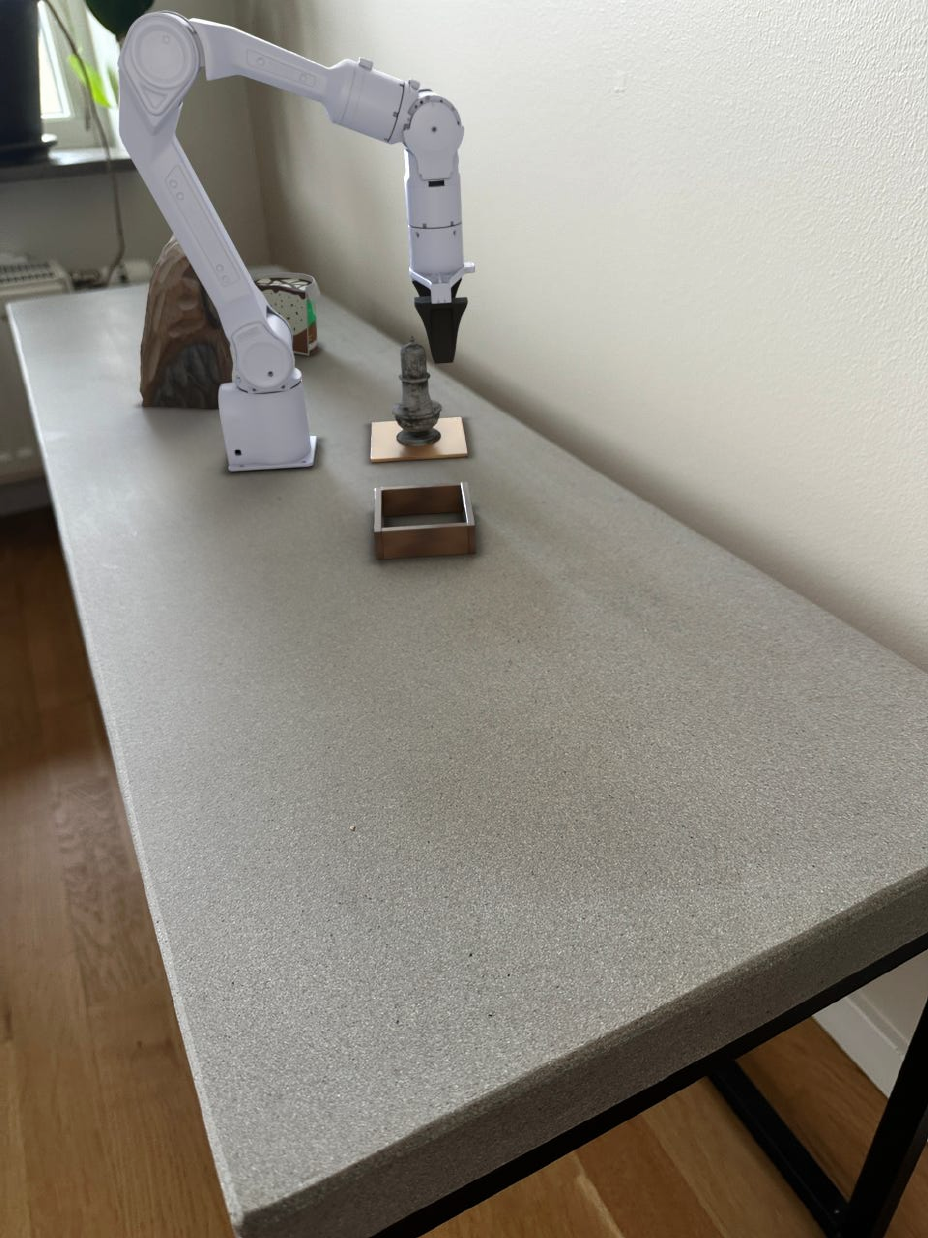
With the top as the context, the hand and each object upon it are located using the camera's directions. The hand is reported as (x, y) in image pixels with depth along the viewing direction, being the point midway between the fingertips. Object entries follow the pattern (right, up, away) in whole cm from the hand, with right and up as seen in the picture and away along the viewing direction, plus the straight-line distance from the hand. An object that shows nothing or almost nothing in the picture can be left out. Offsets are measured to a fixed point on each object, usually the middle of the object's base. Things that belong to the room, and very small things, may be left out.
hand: (442, 351), depth 108 cm
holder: (-1, -22, -13) cm, 26 cm away
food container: (-23, +11, +38) cm, 45 cm away
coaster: (-3, -9, +6) cm, 11 cm away
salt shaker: (-3, -9, +6) cm, 11 cm away
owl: (-34, 0, +21) cm, 40 cm away
